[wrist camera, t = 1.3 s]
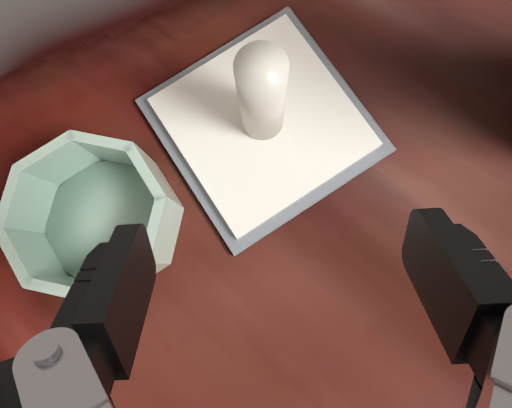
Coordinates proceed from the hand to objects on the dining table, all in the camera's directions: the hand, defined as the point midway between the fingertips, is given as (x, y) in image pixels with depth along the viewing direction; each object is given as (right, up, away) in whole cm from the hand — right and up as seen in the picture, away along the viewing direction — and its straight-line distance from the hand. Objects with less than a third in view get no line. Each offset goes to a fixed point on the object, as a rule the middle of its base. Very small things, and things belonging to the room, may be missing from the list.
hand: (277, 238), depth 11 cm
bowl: (-13, -1, +22) cm, 25 cm away
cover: (0, +8, +22) cm, 24 cm away
